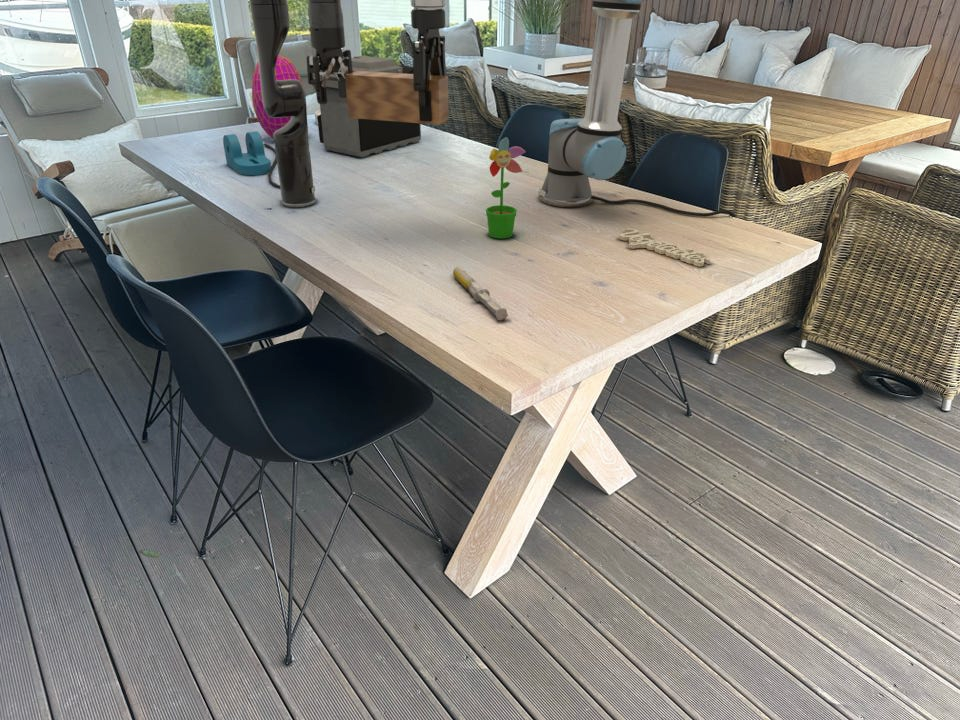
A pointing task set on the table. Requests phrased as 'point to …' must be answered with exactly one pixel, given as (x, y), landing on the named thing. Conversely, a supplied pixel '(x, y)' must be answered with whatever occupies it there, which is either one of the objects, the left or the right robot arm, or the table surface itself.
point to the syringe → (479, 293)
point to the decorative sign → (663, 247)
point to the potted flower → (500, 214)
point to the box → (394, 97)
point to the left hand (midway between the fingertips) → (333, 100)
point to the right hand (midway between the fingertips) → (431, 117)
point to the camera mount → (246, 154)
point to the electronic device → (362, 133)
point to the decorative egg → (269, 125)
